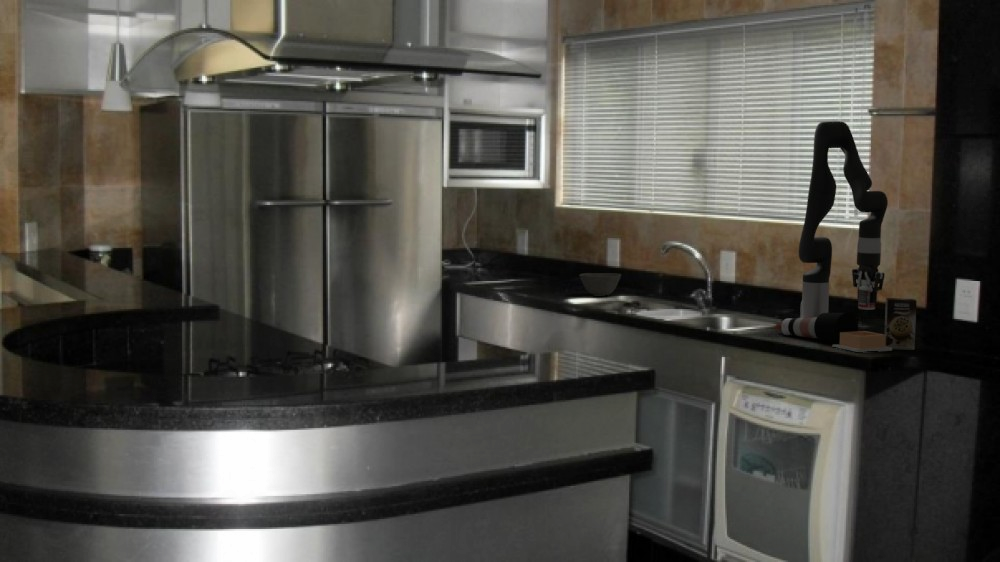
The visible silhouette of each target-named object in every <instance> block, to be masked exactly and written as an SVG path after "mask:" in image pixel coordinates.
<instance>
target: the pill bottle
mask: <svg viewBox="0 0 1000 562" xmlns="http://www.w3.org/2000/svg"><path fill="white" fill-rule="evenodd" d="M871 282H874V281H871ZM861 283H862V284H861V285H862V286H860V287H859V300H858V302H857V303H858V305H857V308H858V309H859V310H866V311H869V310H871V311H873V310H876V303H870V292H871V291H870V287H869V285H868V284H867V280H862V282H861ZM873 288H874V285H873Z"/></svg>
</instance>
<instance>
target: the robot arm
mask: <svg viewBox="0 0 1000 562" xmlns="http://www.w3.org/2000/svg"><path fill="white" fill-rule="evenodd" d="M813 135H814V136H813V153H812V155H813V156H812V169H811V175H810V182H809V187H808V194H807V203H806V212H805V218H804V223H803V227H802V232H801V236H800V240H799V245H798V258H799V260H800V261H801V262H802V263H803V264H804V263H805V264H816V265H815V267H814V268H813V269H811V270H809V271H806V272H805V273H803V274H802V287H801V288H802V292H801V293H802V294H801V297H802V298H801V302H800V307H799V308H800V312H799V314H800V316H799V318H805V317H810V318H811V317H812V318H813V317H818V316H819V315H820V314H822V313H829V303H830V302H829V300H830V299H829V297H830V294H829V293H830V277H831V269H832V259H833V257H832V256H833V244H832V242H831V240H830V239H829V237H826V236H825V237H824V236H822V237H820V236H817V237H816V234H817V233H816V232H817V229H818V228H819V226H820V224H821V222H822V221H823V220H824V219H825V217H826V216H827V215H828V214H829V213H830V211H831V210H832V208H833V207H834V203H835V199H836V193H837V182H836V179H835V177H834V175H833V173H832V171H831V169H830V166H829V160H828V159H829V157H828V156H829V149H840V150H841V151H842V153H843V155H844V162H843V166H842V167H843V170H842V171H843V175H844V178H845V180H846V182H847V184H848V185H849V187H850V189H851V194H852V199H853V200H852V201H853V204H854V207H855V208H856V209H857V211H859V212H861V213H870V215H869V216H868V218H865V219H863V220H860V221H859V224H858V240H857V249H856V265H857V266H858V268H853V269H851V274H852V275H851V276H852V285H853V287H855V288H856V290H857V301H859V287H860V286H862V283H861V282H862V280H867V284H868V285H869V287H870V291H871V292H870V303H875V304H876V303H877V300H878V291H882V290H883V286H884V280H885V272H880V271H879V269H878V267H879V266H880V265H881V257H882V242H881V238H882V237H881V235H882V226H883V225H882V224H883V221H884V218H885V214H886V212H887V209H888V202H889V201H888V197H887V194H886V193H885V192H884V191H881V190H870V189H871V188H872V186H873V182H872V179H871V177H870V175H869V173H868V171H867V170H866V168H865V166H864V164H863V162H862V159H861V157H860V154H859V151H858V148H857V145H856V141H855V139H854V137H853V133H852V131H851V129H850V127H849V125H848V124H847V123H846V122H844V121H839V120H838V121H836V120H835V121H833V120H832V121H822V122H821V121H820V122H819V123H818V124H817V126H816V127H815V131H814V134H813ZM871 281H874V282H871ZM873 286H874V288H873Z"/></svg>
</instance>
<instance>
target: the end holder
mask: <svg viewBox="0 0 1000 562" xmlns="http://www.w3.org/2000/svg"><path fill="white" fill-rule="evenodd" d="M885 337H886V335H884V333H879V332H872V331H869V330H862V331H861V330H858V331H855V332H840V343H832V347H838V348H842V349H847V350H851V351H856V352H863V353H867V352H866V351H878V352H888V351H889V352H891V351H893V349H892V347H888V346H885ZM864 351H865V352H864Z"/></svg>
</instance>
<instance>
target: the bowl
mask: <svg viewBox="0 0 1000 562" xmlns="http://www.w3.org/2000/svg"><path fill="white" fill-rule="evenodd" d="M621 277H622V274H621V273H614V272H613V273H611V272H607V273H602V272H597V273H594V272H593V273H592V272H586V273H580V274H579V278H580V281H581V283H582V284H583V287H584V288H585V290H586V291H587V292H588V293H589V294H590V295H591V294H596V295H608V296H610V295H611V294H612V293H613V292H614V291H615V289H616V288H617V286H618V284H619V281H620V280H621ZM609 294H610V295H609Z"/></svg>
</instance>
